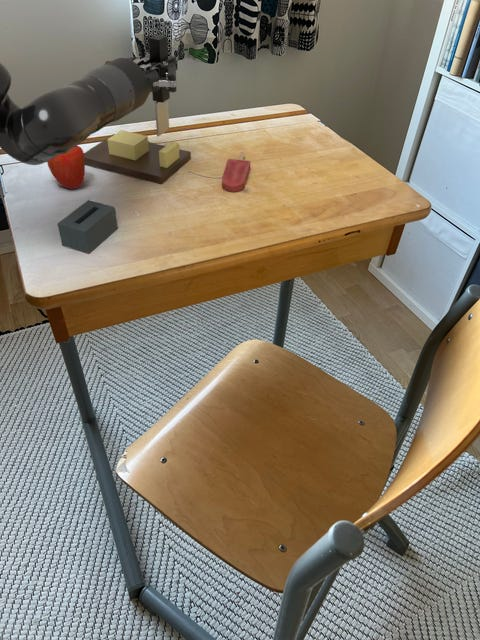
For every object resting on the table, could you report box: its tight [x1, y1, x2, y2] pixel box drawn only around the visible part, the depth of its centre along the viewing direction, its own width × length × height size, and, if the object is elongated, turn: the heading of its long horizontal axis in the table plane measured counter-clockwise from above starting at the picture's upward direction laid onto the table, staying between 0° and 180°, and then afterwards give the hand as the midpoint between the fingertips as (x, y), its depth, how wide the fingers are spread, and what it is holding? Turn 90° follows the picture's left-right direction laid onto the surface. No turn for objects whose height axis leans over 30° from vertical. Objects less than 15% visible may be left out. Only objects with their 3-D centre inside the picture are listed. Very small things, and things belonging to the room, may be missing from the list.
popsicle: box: [221, 151, 251, 193], centre depth 99 cm, size 4×2×15 cm
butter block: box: [106, 129, 149, 160], centre depth 100 cm, size 6×5×3 cm
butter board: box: [84, 133, 192, 185], centre depth 101 cm, size 18×12×2 cm, turn 67°
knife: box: [148, 34, 171, 138], centre depth 90 cm, size 2×4×16 cm, turn 157°
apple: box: [46, 145, 86, 189], centre depth 91 cm, size 6×6×8 cm
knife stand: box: [56, 199, 119, 255], centre depth 80 cm, size 5×8×4 cm, turn 157°
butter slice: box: [159, 141, 180, 168], centre depth 97 cm, size 2×5×3 cm, turn 157°
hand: (167, 61), depth 89 cm, fingers closed on knife, 2 cm apart
